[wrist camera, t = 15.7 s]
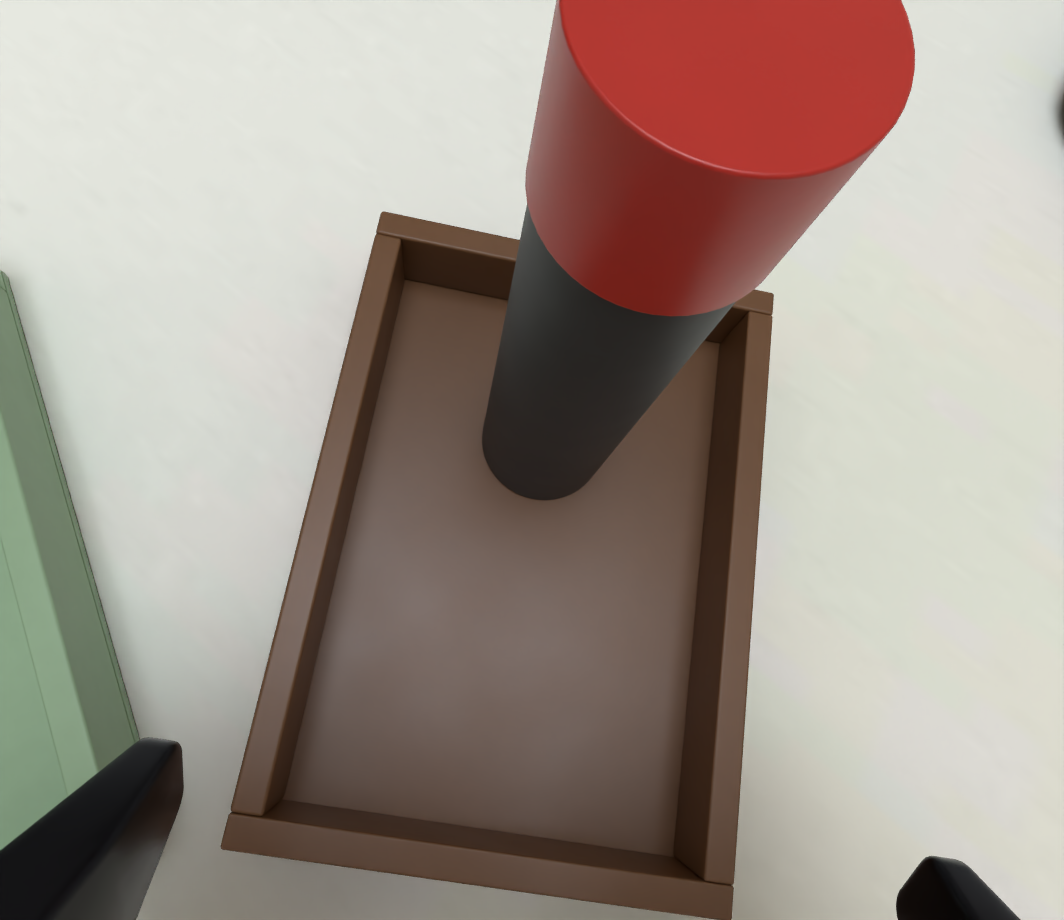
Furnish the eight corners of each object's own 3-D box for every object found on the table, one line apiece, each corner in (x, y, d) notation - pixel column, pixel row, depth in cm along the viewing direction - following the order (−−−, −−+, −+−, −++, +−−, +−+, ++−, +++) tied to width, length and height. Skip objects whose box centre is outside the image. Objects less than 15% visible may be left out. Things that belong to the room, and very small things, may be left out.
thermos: (499, 519, 20) (631, 210, 6) (463, 397, 21) (512, -106, 7) (622, 485, 20) (975, 140, 7) (582, 368, 21) (833, -140, 8)
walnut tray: (693, 888, 18) (731, 922, 16) (249, 824, 17) (219, 850, 15) (739, 332, 23) (775, 292, 20) (387, 259, 22) (381, 209, 19)
